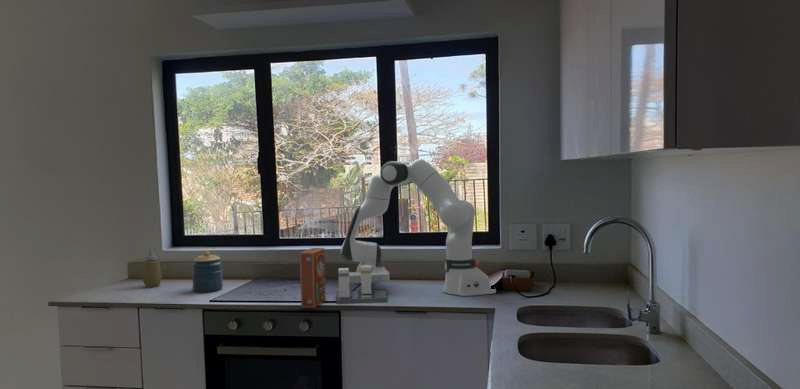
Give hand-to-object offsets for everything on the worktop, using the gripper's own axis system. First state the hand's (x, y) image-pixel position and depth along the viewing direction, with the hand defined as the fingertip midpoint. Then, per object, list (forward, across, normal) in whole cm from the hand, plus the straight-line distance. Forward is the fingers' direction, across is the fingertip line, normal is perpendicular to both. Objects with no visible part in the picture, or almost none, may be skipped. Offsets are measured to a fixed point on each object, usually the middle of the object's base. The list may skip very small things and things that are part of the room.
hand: (366, 281), depth 203 cm
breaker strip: (+3, -2, +6) cm, 8 cm away
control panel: (+9, -21, +7) cm, 24 cm away
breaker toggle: (+2, 0, +4) cm, 5 cm away
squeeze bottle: (-35, -101, +6) cm, 107 cm away
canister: (-24, -72, +6) cm, 76 cm away
